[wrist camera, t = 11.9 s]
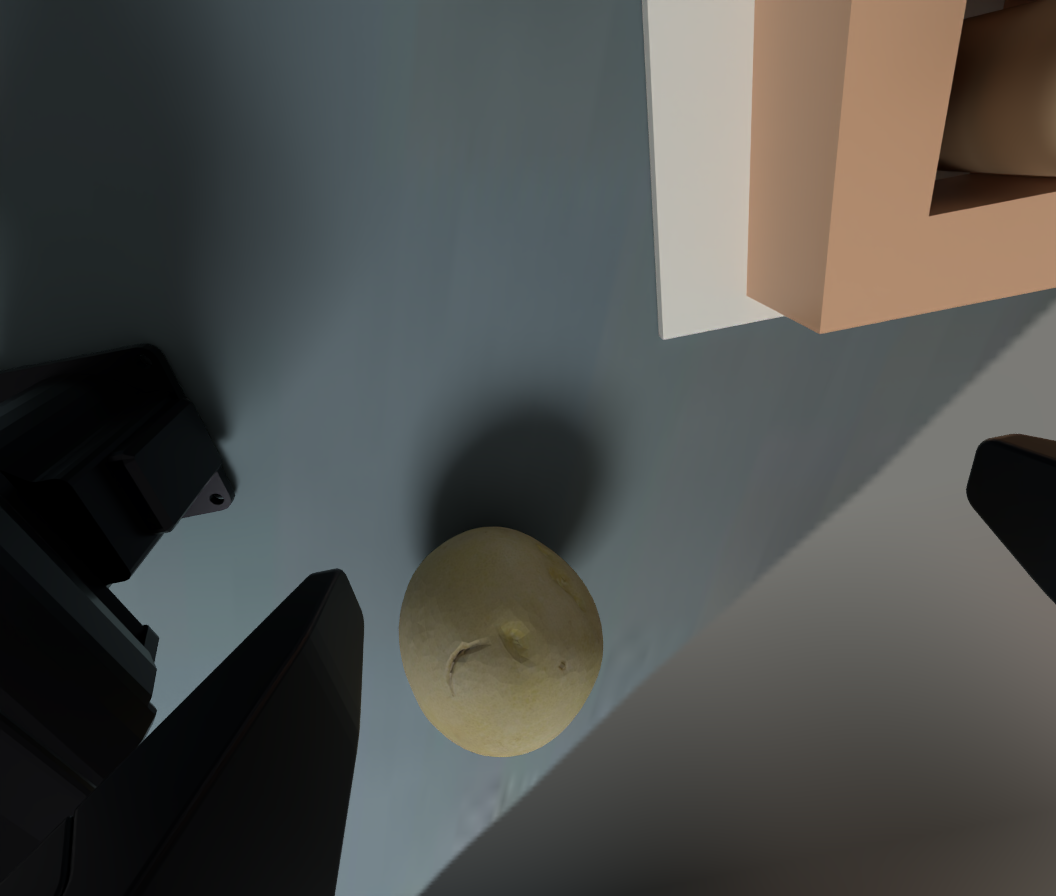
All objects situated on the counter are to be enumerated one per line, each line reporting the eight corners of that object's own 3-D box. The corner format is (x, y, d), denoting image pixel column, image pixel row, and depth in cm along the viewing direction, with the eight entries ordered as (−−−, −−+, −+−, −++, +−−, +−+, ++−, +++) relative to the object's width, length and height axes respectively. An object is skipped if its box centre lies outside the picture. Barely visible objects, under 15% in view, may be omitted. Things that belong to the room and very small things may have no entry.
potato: (610, 529, 24) (671, 684, 17) (522, 647, 27) (543, 821, 20) (452, 463, 22) (449, 612, 15) (374, 600, 25) (341, 779, 18)
